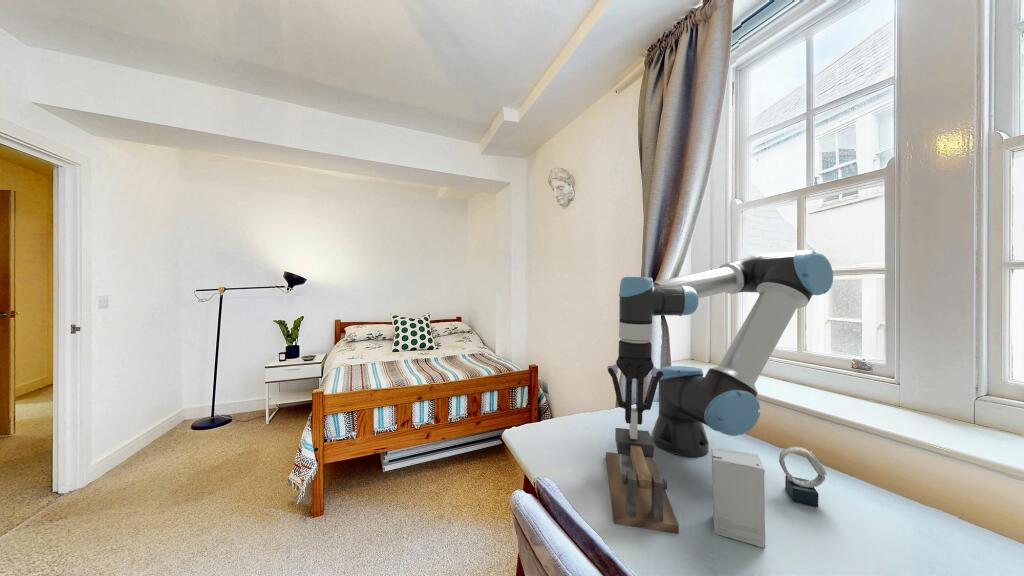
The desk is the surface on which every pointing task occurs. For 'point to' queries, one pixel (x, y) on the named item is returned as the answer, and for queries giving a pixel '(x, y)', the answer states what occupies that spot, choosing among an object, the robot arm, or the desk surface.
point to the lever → (637, 453)
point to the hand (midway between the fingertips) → (633, 436)
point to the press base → (638, 496)
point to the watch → (803, 488)
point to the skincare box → (738, 496)
